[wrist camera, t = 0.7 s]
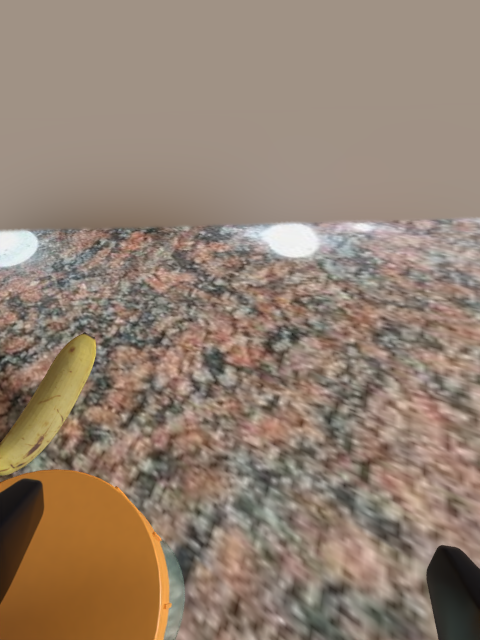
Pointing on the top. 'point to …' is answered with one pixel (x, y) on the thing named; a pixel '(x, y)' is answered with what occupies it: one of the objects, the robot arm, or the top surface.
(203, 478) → the top surface
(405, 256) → the top surface
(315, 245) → the top surface
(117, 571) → the cap
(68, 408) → the banana
